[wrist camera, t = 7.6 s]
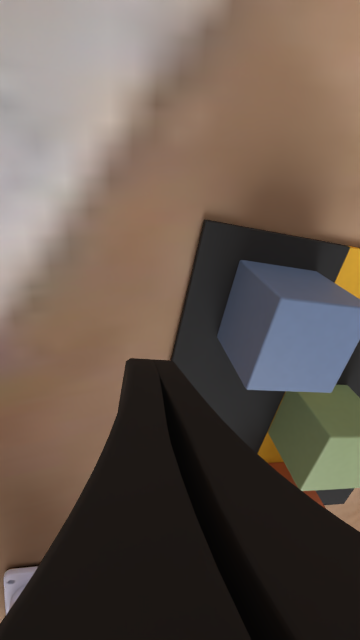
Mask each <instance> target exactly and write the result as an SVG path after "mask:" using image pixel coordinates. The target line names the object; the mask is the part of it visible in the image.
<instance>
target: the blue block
mask: <svg viewBox="0 0 360 640" xmlns="http://www.w3.org/2000/svg"><path fill="white" fill-rule="evenodd" d="M217 338H218V339H219V341H220V343H221V345H222V347H223V348H224V350H225V352H226V354H227V356H228V357H229V359H230V361H231V363H232V365H233V366H234V368H235V370H236V372H237V374H238V375H239V377H240V379H241V381H242V383H243V384H244V386H245V388H246V389H247V390H266V391H293V392H321V393H331V392H332V391H333V389H334V387H335V385H336V383H337V381H338V380H339V378H340V376H341V374H342V372H343V370H344V368H345V366H346V364H347V363H348V361H349V359H350V357H351V355H352V353H353V351H354V349H355V348H356V346H357V344H358V342H359V340H360V299H359V298H357V297H355V296H354V295H352V294H351V293H349V292H348V291H346V290H345V289H343V288H341V287H340V286H338V285H337V284H335V283H334V282H332V281H331V280H329V279H327V278H326V277H324V276H323V275H321V274H320V273H318V272H317V271H311V270H305V269H298V268H292V267H285V266H279V265H272V264H265V263H259V262H252V261H246V260H240V261H239V265H238V268H237V271H236V275H235V278H234V281H233V285H232V288H231V291H230V295H229V298H228V301H227V305H226V308H225V311H224V314H223V318H222V321H221V324H220V328H219V331H218V334H217Z"/></svg>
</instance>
